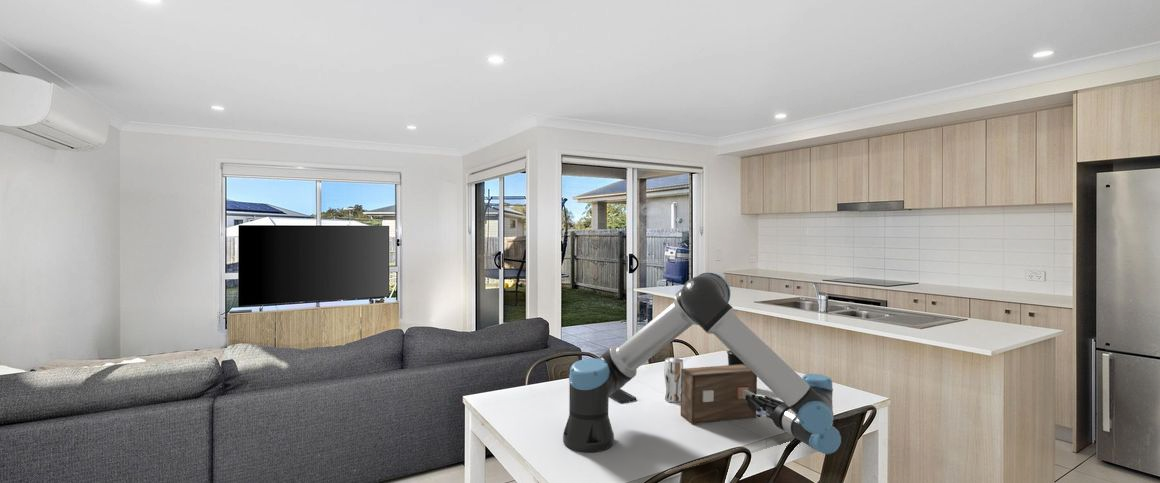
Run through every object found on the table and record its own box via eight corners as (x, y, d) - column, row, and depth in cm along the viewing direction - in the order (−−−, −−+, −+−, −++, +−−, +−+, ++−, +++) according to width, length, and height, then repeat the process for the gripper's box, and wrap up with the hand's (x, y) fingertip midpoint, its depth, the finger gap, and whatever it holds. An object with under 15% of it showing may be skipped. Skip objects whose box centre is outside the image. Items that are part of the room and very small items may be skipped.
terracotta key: (748, 398, 170) (748, 387, 170) (738, 398, 169) (738, 388, 169) (738, 392, 176) (738, 382, 176) (729, 393, 175) (729, 382, 175)
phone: (616, 386, 201) (637, 398, 188) (616, 389, 201) (637, 401, 188) (598, 389, 197) (619, 401, 184) (598, 392, 197) (619, 404, 184)
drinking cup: (748, 385, 207) (749, 336, 206) (743, 390, 200) (744, 339, 199) (729, 381, 211) (730, 333, 210) (723, 386, 204) (724, 337, 204)
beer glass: (686, 399, 189) (687, 359, 188) (676, 404, 184) (676, 363, 183) (670, 395, 193) (671, 356, 193) (660, 400, 188) (660, 359, 188)
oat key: (713, 401, 167) (713, 390, 167) (703, 402, 166) (703, 391, 166) (704, 395, 172) (704, 384, 172) (694, 396, 171) (695, 385, 171)
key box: (756, 417, 172) (757, 370, 172) (691, 424, 166) (692, 375, 165) (742, 409, 180) (743, 364, 179) (680, 415, 174) (681, 368, 173)
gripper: (771, 435, 145) (726, 406, 168) (810, 430, 149) (760, 402, 172) (772, 409, 145) (726, 383, 168) (810, 405, 149) (761, 380, 171)
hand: (744, 393), depth 170 cm, fingers closed
